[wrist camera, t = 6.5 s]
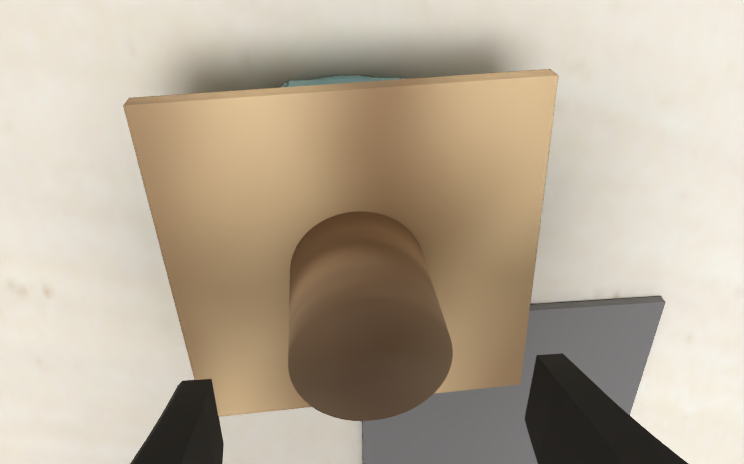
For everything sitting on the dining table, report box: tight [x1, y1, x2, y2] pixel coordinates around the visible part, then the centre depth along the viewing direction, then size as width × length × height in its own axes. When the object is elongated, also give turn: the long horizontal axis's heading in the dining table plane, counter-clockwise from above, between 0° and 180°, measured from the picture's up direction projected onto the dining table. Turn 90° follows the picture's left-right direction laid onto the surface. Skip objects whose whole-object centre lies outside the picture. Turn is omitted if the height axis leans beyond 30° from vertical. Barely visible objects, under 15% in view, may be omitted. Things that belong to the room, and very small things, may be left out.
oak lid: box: [123, 69, 558, 421], centre depth 16 cm, size 11×11×5 cm
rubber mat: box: [362, 296, 665, 464], centre depth 28 cm, size 13×13×1 cm
